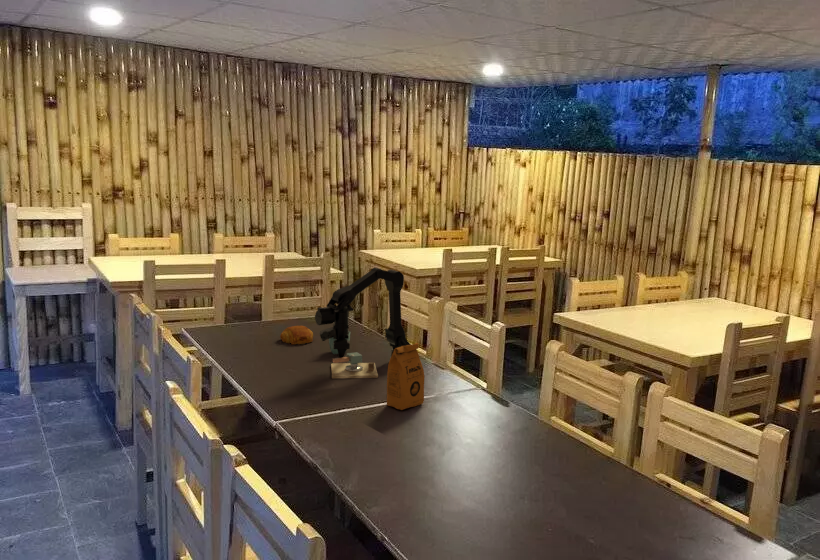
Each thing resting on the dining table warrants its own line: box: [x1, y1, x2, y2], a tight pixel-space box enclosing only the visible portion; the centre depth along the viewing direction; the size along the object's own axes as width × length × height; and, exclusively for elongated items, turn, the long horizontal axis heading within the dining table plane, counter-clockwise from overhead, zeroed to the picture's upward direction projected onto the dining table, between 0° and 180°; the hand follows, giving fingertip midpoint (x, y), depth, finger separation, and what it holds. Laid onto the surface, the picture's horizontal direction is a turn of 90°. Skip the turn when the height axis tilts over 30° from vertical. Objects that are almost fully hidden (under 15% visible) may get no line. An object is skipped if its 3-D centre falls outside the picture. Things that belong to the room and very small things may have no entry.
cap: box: [332, 351, 363, 364], centre depth 263 cm, size 11×5×3 cm, turn 120°
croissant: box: [279, 325, 314, 345], centre depth 307 cm, size 14×16×8 cm
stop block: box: [368, 361, 375, 371], centre depth 265 cm, size 2×2×3 cm
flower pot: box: [328, 330, 351, 355], centre depth 290 cm, size 9×9×9 cm
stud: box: [345, 363, 363, 372], centre depth 266 cm, size 7×7×3 cm
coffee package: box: [386, 342, 425, 411], centre depth 229 cm, size 10×12×22 cm
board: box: [330, 362, 379, 379], centre depth 266 cm, size 18×16×1 cm
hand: (340, 359), depth 264 cm, fingers closed
